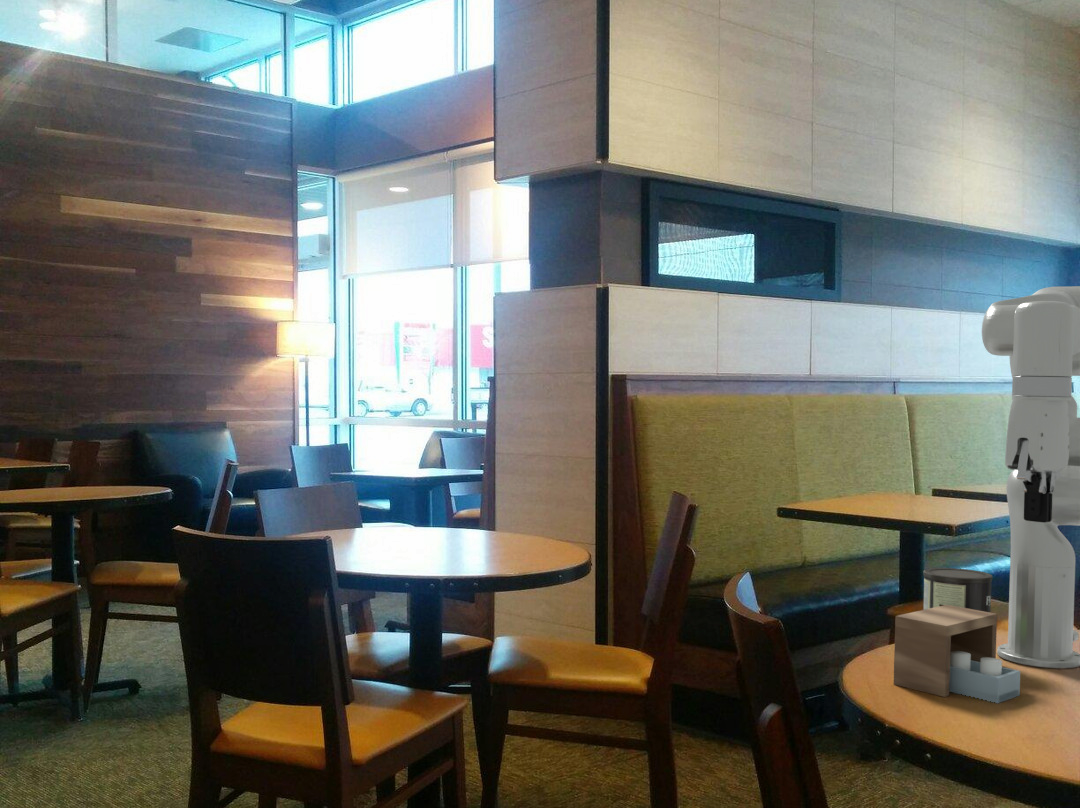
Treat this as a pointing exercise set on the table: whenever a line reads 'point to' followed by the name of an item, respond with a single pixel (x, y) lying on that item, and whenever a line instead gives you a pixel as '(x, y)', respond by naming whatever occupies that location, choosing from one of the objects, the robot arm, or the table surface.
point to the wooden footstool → (939, 644)
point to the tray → (982, 678)
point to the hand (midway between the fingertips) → (1037, 520)
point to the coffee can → (957, 588)
